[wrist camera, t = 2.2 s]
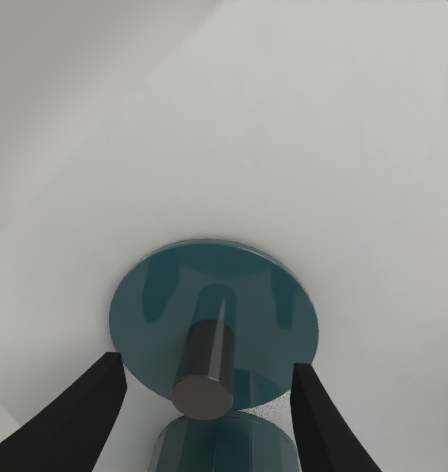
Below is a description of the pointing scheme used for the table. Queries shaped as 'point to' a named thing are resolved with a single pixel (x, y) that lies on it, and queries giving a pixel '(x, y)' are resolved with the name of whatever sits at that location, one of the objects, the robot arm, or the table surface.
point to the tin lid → (213, 326)
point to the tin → (224, 446)
